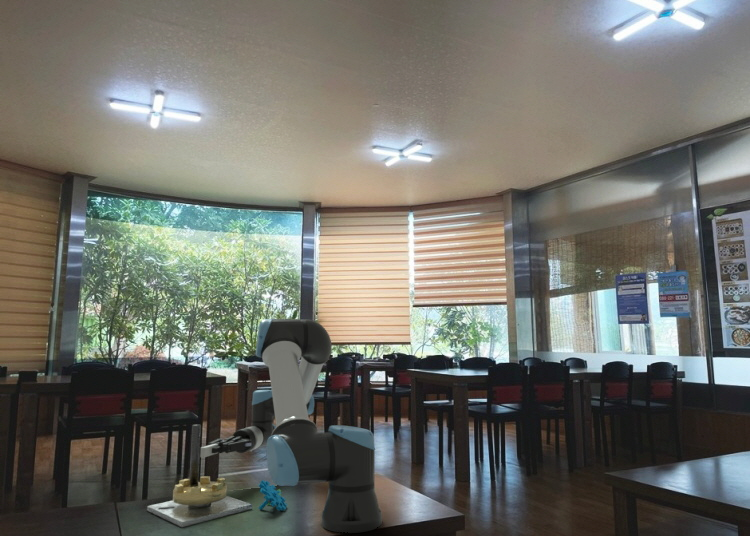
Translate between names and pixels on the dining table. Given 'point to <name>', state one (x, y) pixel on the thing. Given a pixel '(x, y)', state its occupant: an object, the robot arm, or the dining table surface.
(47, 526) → the dining table surface
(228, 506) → the white square base plate
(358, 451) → the robot arm
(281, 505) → the gear
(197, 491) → the gold toothed rod mount
